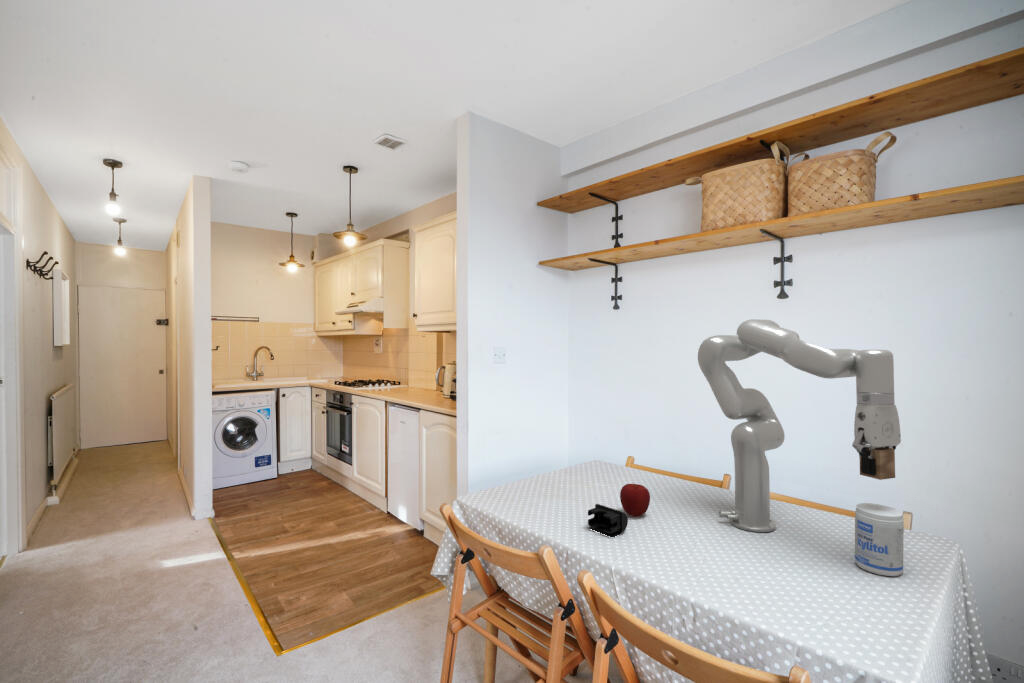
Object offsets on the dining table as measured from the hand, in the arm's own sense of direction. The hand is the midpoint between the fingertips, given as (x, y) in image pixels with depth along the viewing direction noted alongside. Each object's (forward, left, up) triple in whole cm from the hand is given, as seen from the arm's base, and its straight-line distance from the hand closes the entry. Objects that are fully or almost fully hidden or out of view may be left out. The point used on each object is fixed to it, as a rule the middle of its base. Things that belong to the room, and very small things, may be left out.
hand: (877, 472), depth 119 cm
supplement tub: (0, 0, -24) cm, 24 cm away
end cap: (-63, +23, -24) cm, 71 cm away
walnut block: (0, 0, -1) cm, 1 cm away
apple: (-52, +36, -24) cm, 67 cm away
